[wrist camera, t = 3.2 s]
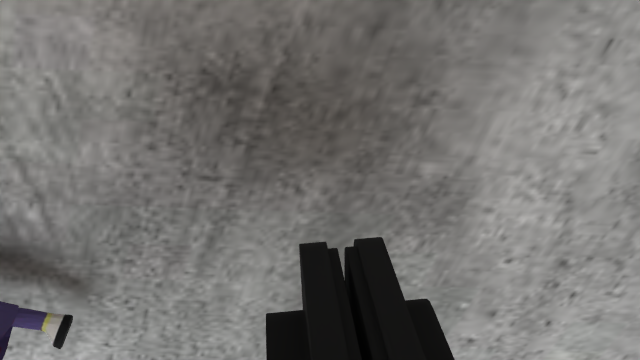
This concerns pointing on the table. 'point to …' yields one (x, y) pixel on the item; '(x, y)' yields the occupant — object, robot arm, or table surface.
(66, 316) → the figurine
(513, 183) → the table surface
